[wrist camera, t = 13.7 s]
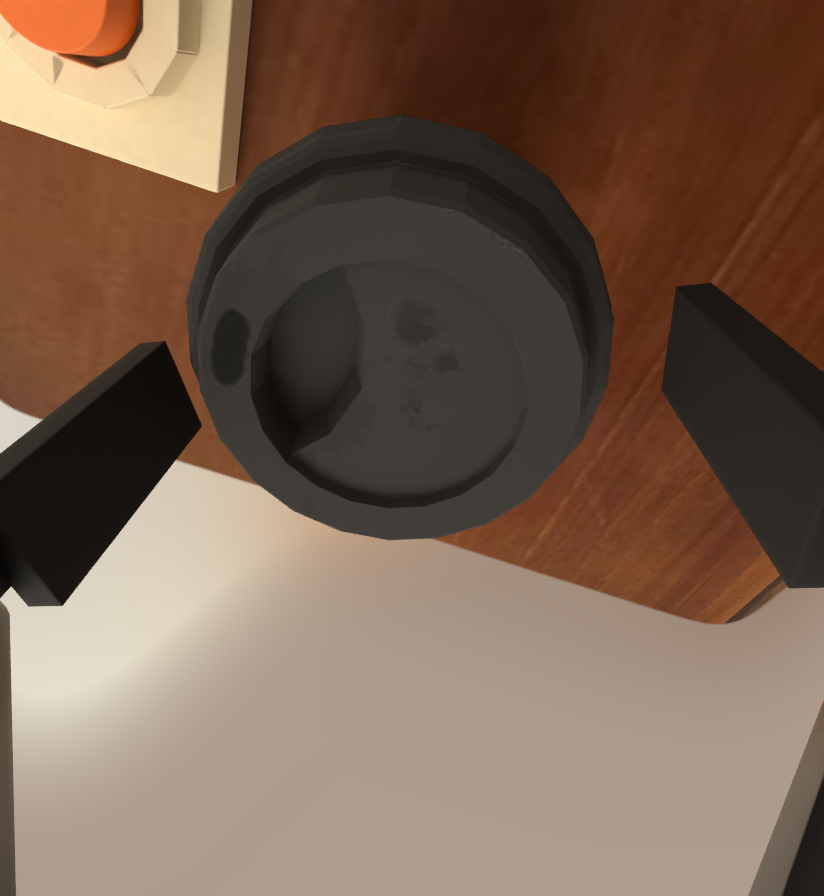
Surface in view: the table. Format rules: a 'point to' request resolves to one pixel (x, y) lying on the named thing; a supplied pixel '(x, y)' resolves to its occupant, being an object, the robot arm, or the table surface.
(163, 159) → the button box
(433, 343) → the coffee cup
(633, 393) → the table surface
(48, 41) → the button
